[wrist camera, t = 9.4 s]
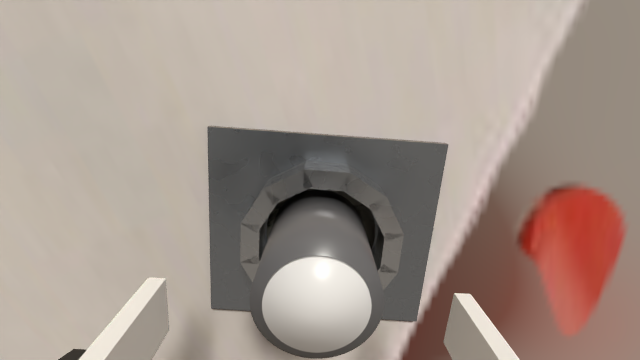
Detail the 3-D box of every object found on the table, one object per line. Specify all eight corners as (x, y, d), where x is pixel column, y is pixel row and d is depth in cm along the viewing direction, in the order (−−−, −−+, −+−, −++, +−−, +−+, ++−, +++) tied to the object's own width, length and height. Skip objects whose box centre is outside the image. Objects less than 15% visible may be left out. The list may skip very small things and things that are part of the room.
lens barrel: (271, 269, 24) (246, 358, 16) (274, 186, 23) (249, 240, 15) (358, 275, 24) (376, 367, 17) (368, 193, 23) (394, 251, 15)
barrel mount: (213, 304, 26) (199, 331, 23) (210, 125, 22) (193, 131, 19) (414, 316, 26) (426, 345, 23) (445, 143, 22) (463, 151, 20)
